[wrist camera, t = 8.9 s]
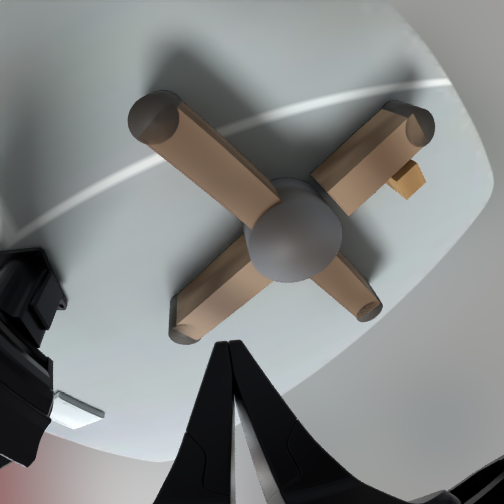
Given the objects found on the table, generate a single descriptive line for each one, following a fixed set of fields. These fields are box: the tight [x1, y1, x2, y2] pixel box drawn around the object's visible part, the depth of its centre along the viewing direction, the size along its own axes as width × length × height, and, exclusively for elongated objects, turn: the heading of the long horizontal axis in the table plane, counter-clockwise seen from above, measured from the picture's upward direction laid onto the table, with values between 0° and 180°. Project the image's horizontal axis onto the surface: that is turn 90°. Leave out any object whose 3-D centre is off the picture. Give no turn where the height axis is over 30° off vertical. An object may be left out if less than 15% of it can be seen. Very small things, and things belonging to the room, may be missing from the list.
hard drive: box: [50, 392, 105, 429], centre depth 34 cm, size 2×8×12 cm
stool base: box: [128, 90, 426, 345], centre depth 20 cm, size 22×25×4 cm
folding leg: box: [311, 100, 435, 216], centre depth 17 cm, size 9×3×3 cm, turn 135°
